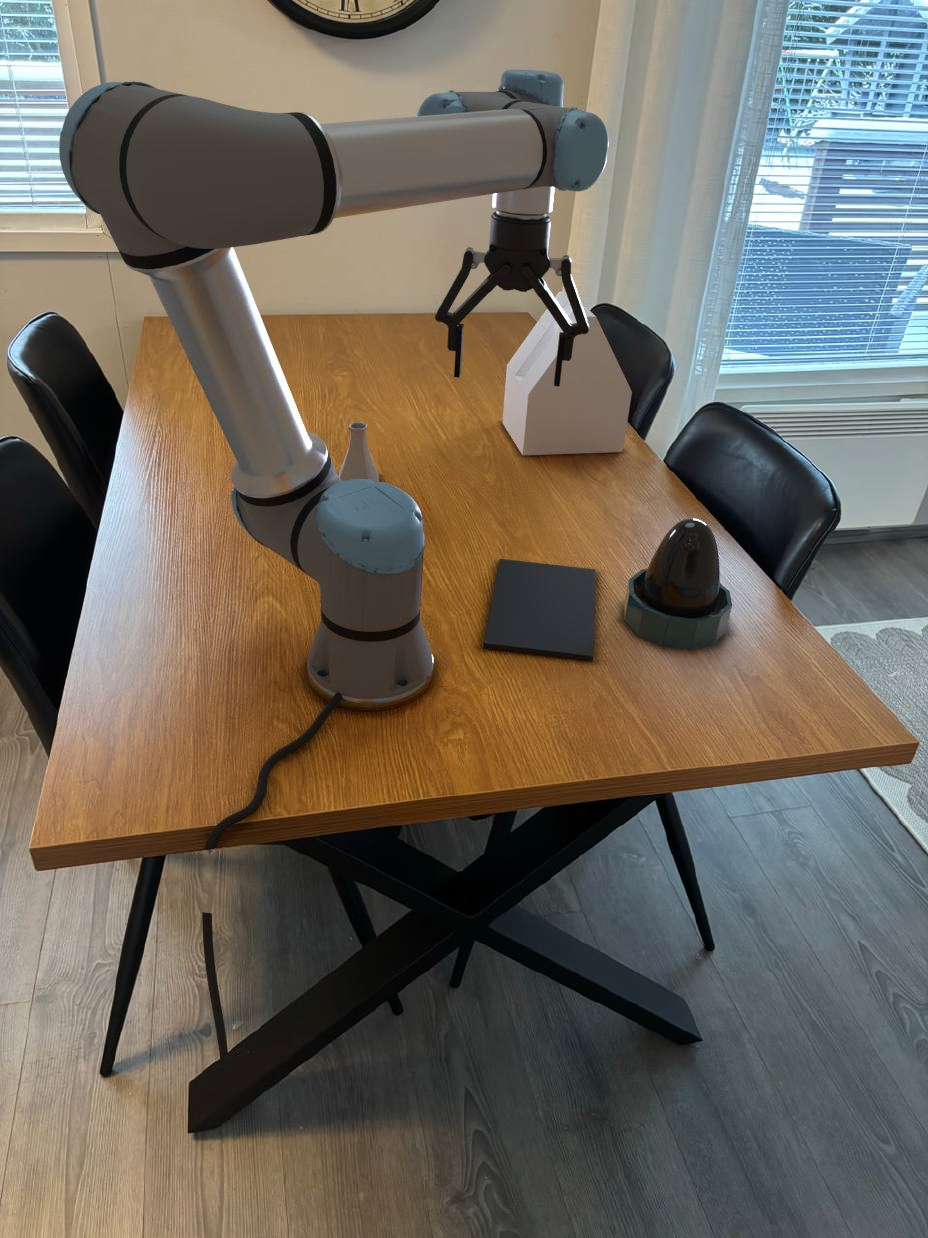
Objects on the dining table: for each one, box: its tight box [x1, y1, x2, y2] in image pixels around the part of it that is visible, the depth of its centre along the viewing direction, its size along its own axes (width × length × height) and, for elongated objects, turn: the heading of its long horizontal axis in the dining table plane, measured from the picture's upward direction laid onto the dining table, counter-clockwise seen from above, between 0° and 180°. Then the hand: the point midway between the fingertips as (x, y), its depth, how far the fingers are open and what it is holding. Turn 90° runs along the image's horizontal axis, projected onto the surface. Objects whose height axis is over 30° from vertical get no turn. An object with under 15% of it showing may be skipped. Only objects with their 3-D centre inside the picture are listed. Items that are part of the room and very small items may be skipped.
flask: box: [338, 421, 380, 483], centre depth 159 cm, size 7×7×10 cm
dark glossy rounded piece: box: [641, 518, 721, 619], centre depth 127 cm, size 10×10×15 cm
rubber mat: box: [482, 558, 596, 662], centre depth 132 cm, size 22×14×1 cm, turn 173°
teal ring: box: [623, 567, 733, 650], centre depth 130 cm, size 14×14×4 cm
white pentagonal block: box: [502, 291, 633, 456], centre depth 176 cm, size 19×15×25 cm
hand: (507, 378), depth 132 cm, fingers open, 13 cm apart
